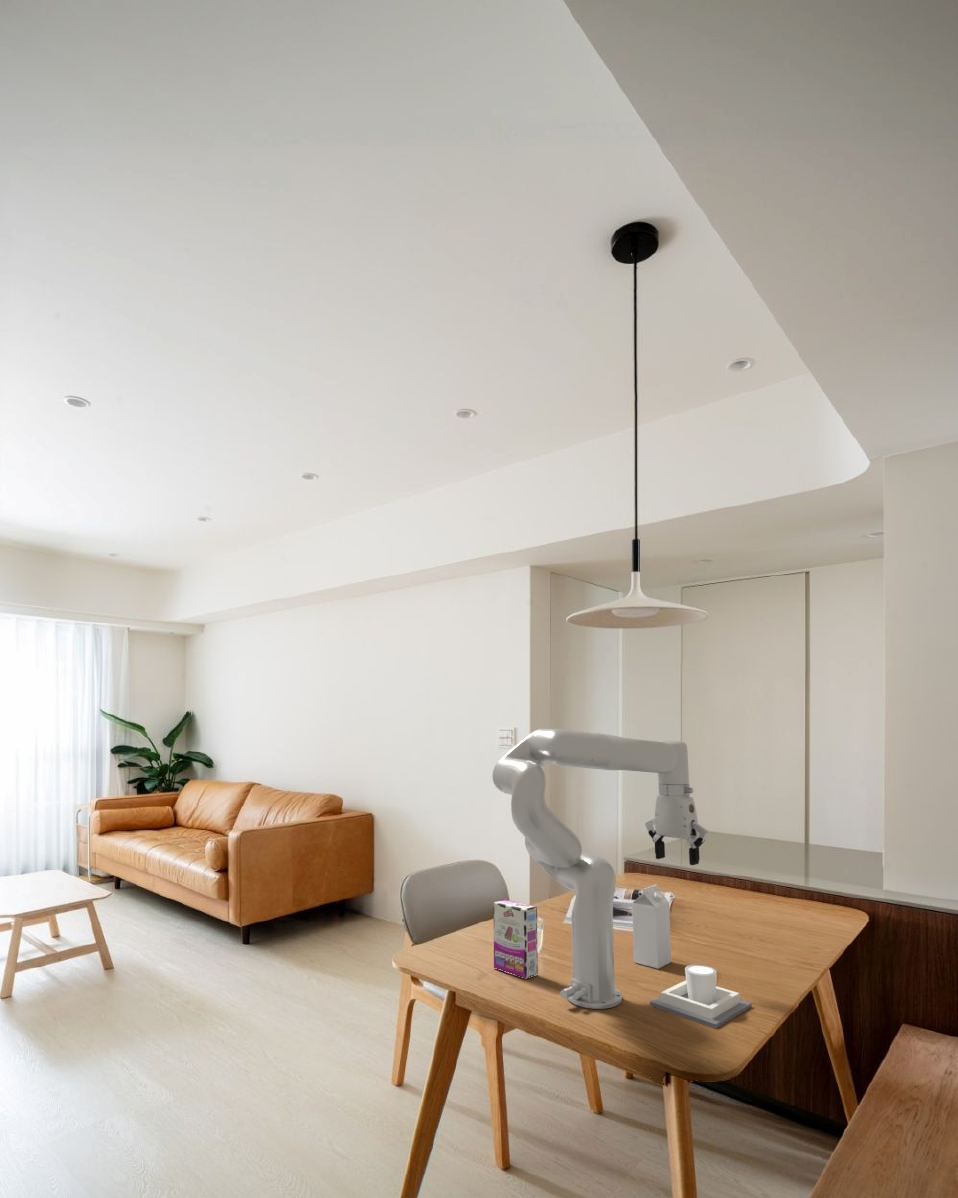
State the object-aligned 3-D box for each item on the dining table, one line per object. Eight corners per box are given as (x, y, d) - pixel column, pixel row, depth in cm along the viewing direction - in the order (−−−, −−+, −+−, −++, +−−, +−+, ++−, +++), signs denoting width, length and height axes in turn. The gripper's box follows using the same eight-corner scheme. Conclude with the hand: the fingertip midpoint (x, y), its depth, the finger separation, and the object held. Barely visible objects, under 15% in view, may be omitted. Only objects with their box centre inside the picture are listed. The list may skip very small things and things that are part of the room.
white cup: (692, 994, 165) (691, 962, 166) (722, 1001, 161) (720, 968, 162) (681, 1004, 159) (680, 970, 160) (712, 1012, 155) (710, 977, 156)
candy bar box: (539, 975, 179) (538, 906, 181) (526, 980, 175) (525, 910, 178) (505, 964, 187) (505, 898, 189) (492, 969, 183) (492, 901, 186)
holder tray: (715, 1028, 149) (715, 1014, 149) (649, 1005, 161) (649, 992, 161) (751, 1006, 160) (751, 993, 160) (687, 986, 171) (687, 974, 172)
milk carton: (633, 963, 187) (631, 887, 190) (647, 956, 193) (645, 882, 195) (658, 969, 183) (655, 891, 186) (671, 962, 188) (668, 886, 191)
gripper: (712, 792, 177) (716, 864, 175) (653, 787, 190) (656, 854, 187) (696, 795, 172) (700, 869, 170) (636, 789, 185) (639, 858, 182)
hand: (677, 861), depth 179 cm, fingers open, 9 cm apart
